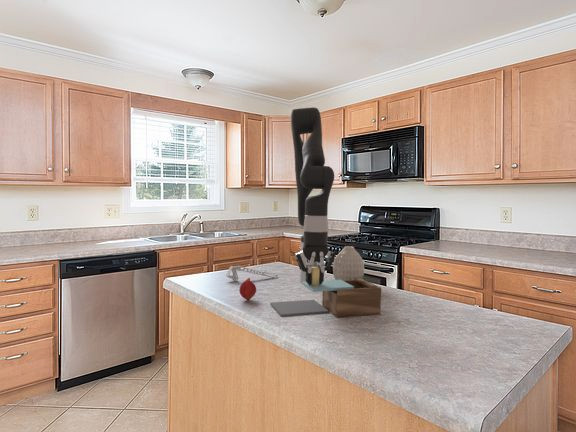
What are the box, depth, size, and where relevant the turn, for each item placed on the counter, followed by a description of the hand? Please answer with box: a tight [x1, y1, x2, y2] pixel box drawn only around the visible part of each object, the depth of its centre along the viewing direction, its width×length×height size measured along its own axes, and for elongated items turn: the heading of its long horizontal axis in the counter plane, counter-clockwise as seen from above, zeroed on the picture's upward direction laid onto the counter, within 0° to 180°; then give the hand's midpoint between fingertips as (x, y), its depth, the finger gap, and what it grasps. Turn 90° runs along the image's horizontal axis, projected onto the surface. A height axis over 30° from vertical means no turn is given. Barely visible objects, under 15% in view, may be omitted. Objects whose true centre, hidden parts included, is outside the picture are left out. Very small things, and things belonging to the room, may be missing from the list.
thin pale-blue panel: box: [301, 267, 354, 293], centre depth 118 cm, size 10×14×6 cm
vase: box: [332, 245, 365, 280], centre depth 152 cm, size 13×13×17 cm
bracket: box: [225, 265, 278, 282], centre depth 162 cm, size 3×21×10 cm, turn 114°
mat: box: [269, 299, 330, 317], centre depth 122 cm, size 13×16×1 cm
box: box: [321, 277, 382, 319], centre depth 121 cm, size 12×15×9 cm
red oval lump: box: [239, 277, 257, 301], centre depth 130 cm, size 6×6×8 cm
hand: (314, 283), depth 117 cm, fingers closed on thin pale-blue panel, 3 cm apart
